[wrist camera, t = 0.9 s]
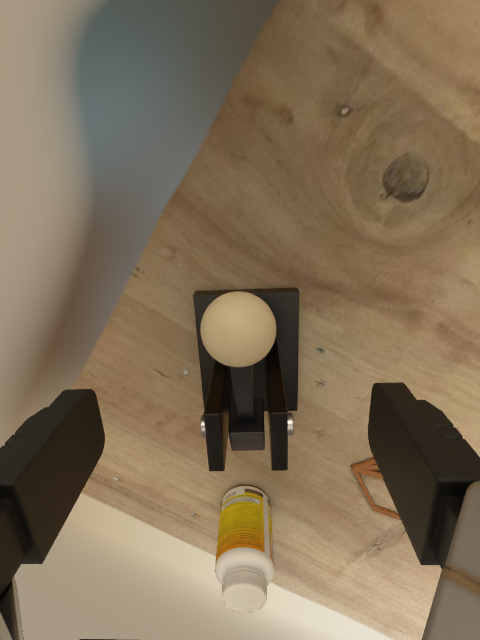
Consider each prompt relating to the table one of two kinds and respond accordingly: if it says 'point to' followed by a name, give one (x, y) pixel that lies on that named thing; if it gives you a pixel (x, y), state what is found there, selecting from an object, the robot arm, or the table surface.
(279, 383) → the bracket
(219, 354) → the lever
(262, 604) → the supplement bottle
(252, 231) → the table surface
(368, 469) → the emblem
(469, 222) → the table surface
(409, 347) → the table surface
